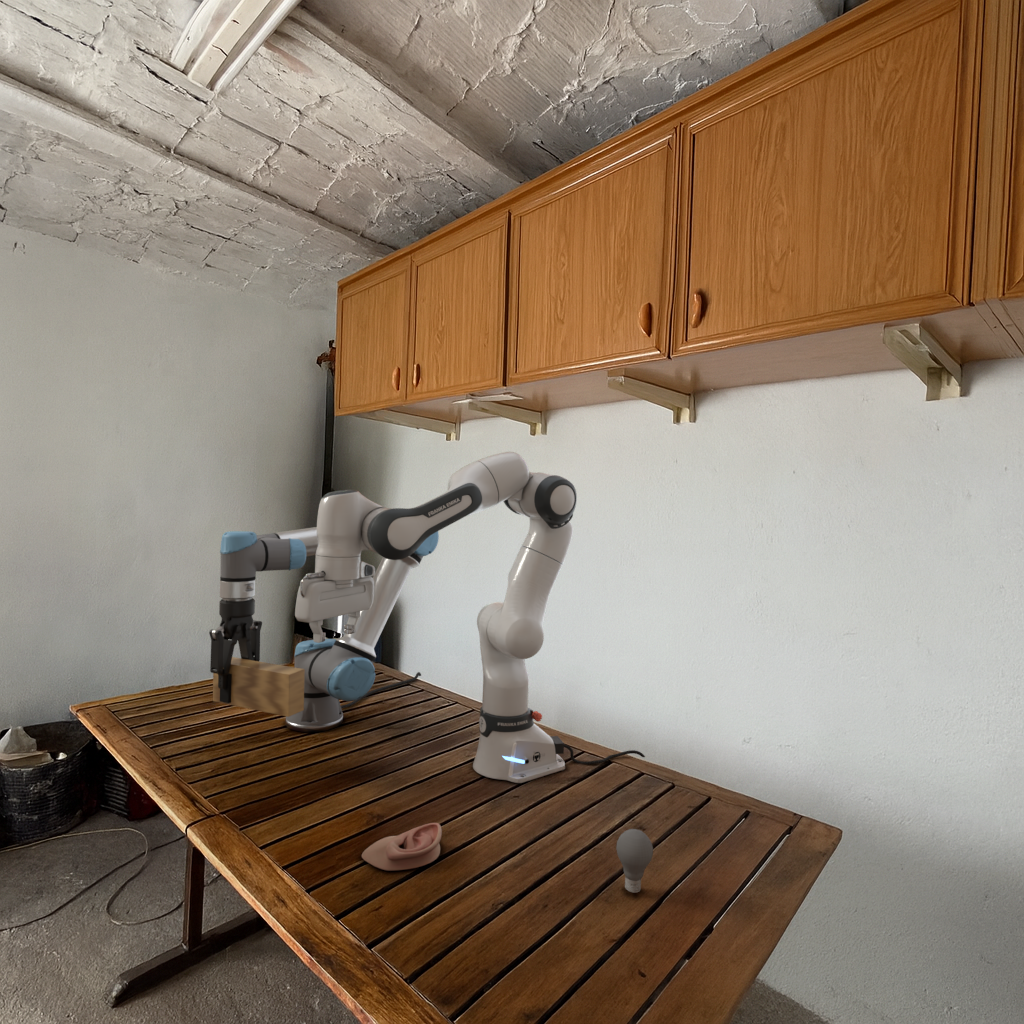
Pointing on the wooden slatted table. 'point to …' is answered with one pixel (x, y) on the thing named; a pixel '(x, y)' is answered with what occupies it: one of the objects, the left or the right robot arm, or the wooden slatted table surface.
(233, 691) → the bar
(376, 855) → the anatomical model
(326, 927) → the wooden slatted table surface
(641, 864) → the light bulb
